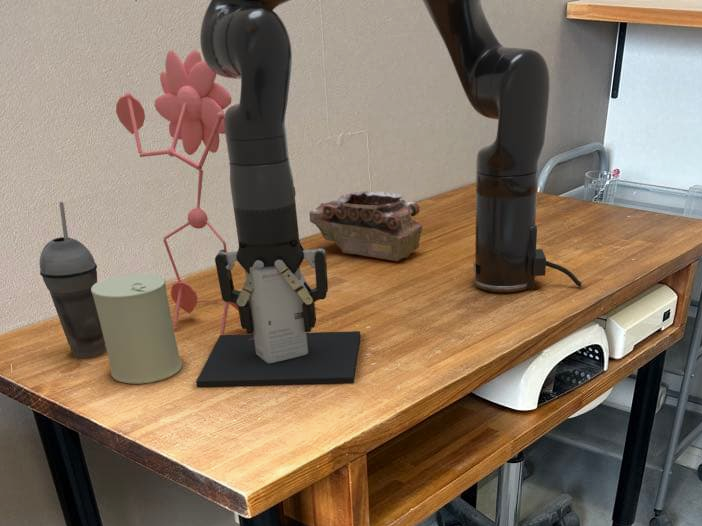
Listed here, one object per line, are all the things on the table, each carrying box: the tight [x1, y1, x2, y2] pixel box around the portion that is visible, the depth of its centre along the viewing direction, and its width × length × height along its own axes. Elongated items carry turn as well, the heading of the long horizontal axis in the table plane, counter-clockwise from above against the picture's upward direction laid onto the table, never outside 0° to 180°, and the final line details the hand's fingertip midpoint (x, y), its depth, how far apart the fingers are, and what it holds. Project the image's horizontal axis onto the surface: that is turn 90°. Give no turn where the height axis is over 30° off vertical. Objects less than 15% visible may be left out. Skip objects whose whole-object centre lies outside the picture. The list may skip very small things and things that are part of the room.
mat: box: [195, 330, 361, 388], centre depth 115 cm, size 20×16×1 cm
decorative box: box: [309, 190, 424, 262], centre depth 152 cm, size 13×20×10 cm, turn 53°
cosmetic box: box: [244, 265, 308, 364], centre depth 111 cm, size 6×4×12 cm
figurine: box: [115, 49, 254, 340], centre depth 119 cm, size 15×26×35 cm, turn 59°
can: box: [91, 272, 183, 385], centre depth 111 cm, size 9×9×12 cm
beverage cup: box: [39, 201, 107, 359], centre depth 114 cm, size 7×7×20 cm
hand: (279, 330), depth 113 cm, fingers closed on cosmetic box, 7 cm apart
